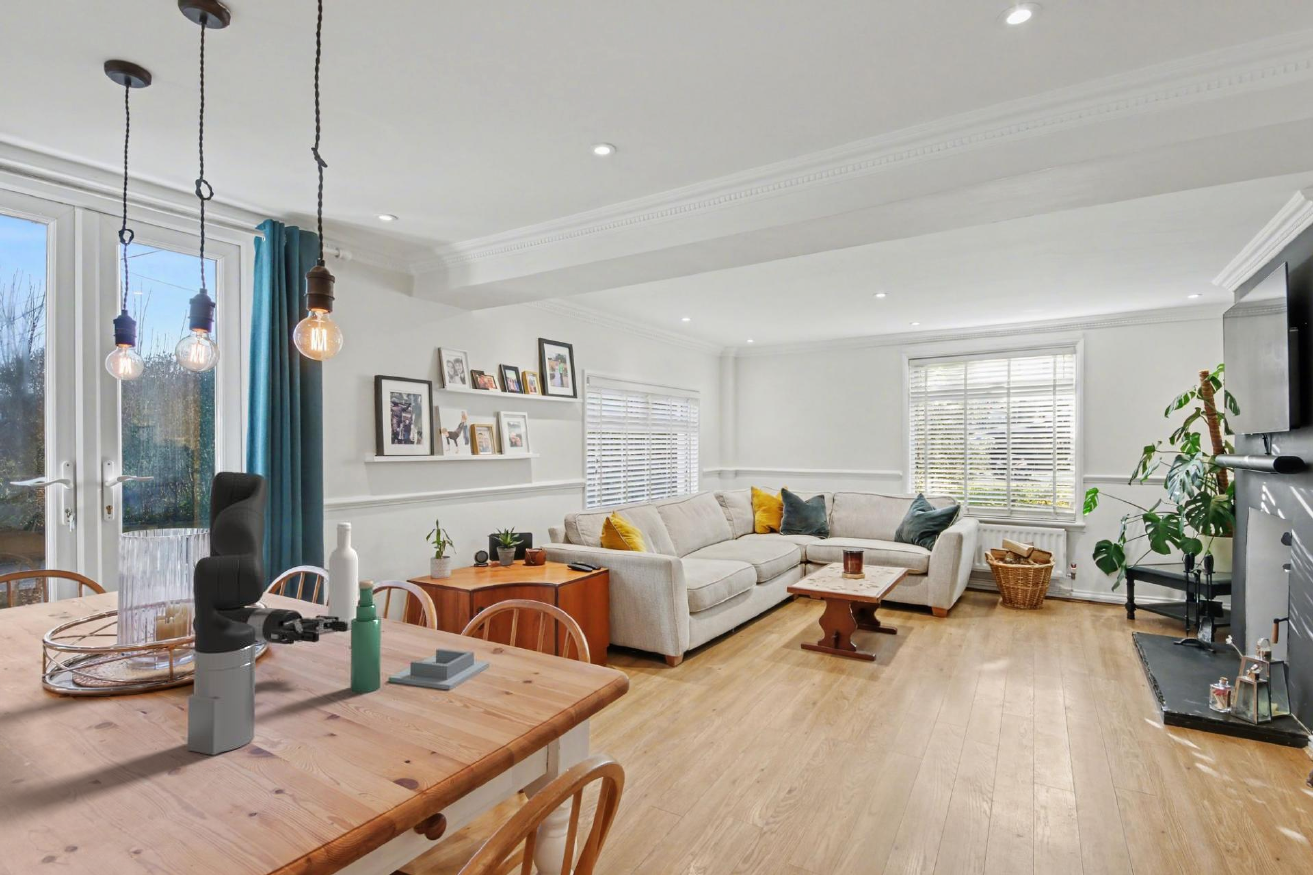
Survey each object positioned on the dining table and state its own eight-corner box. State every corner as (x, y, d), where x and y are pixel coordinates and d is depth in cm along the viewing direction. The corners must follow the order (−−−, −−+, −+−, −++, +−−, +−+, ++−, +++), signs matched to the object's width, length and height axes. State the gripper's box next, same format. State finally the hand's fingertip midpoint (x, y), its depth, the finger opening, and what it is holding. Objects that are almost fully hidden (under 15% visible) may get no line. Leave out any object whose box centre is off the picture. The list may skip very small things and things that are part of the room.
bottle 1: (363, 624, 201) (364, 521, 201) (348, 631, 193) (349, 525, 193) (337, 623, 202) (338, 521, 202) (321, 630, 194) (323, 524, 194)
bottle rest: (450, 689, 149) (450, 671, 149) (388, 681, 153) (388, 663, 153) (489, 666, 164) (489, 650, 164) (431, 660, 169) (432, 643, 169)
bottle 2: (367, 694, 145) (368, 585, 146) (344, 691, 147) (345, 583, 147) (386, 685, 151) (387, 580, 151) (363, 682, 153) (364, 578, 153)
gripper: (248, 616, 150) (308, 622, 145) (299, 602, 163) (355, 607, 159) (247, 651, 150) (307, 658, 145) (299, 633, 163) (355, 640, 159)
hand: (332, 631), depth 152 cm, fingers open, 8 cm apart
